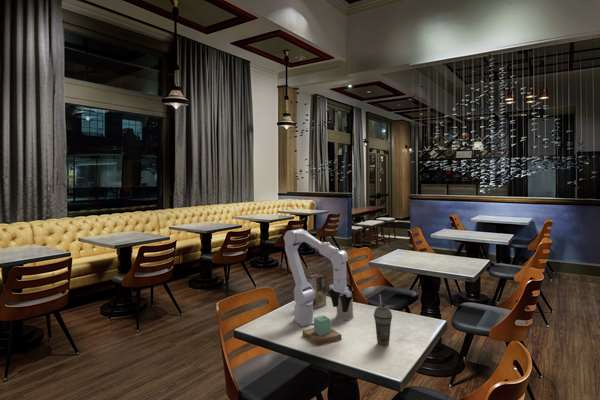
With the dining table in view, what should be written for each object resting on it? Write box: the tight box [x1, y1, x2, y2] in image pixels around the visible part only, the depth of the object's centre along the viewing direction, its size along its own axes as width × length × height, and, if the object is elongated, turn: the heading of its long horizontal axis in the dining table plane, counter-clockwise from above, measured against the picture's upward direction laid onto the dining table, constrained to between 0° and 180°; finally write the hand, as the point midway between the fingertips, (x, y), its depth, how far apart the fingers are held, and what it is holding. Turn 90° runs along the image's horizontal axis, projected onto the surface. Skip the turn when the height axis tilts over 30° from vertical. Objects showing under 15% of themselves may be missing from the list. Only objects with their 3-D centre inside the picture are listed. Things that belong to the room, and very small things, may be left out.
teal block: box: [313, 315, 331, 336], centre depth 154 cm, size 5×5×6 cm
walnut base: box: [302, 327, 343, 346], centre depth 154 cm, size 12×12×2 cm
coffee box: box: [305, 273, 327, 309], centre depth 195 cm, size 9×6×16 cm
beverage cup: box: [373, 293, 393, 347], centre depth 146 cm, size 7×7×20 cm
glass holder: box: [335, 284, 355, 321], centre depth 180 cm, size 9×14×15 cm, turn 167°
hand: (340, 309), depth 159 cm, fingers open, 7 cm apart
